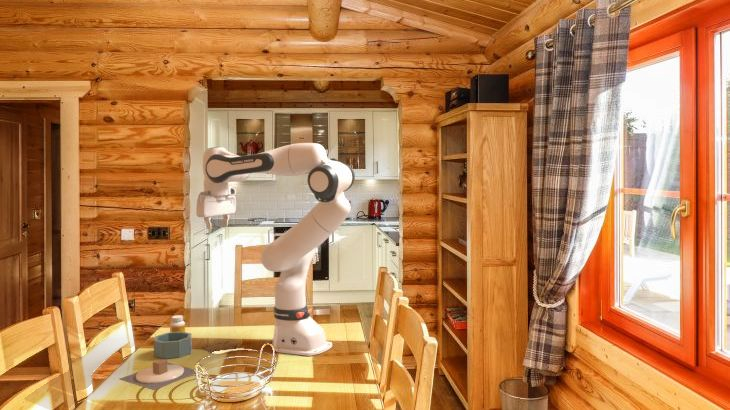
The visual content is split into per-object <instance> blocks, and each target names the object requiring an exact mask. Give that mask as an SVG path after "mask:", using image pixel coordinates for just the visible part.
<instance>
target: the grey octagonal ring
mask: <svg viewBox="0 0 730 410" xmlns="http://www.w3.org/2000/svg"><path fill="white" fill-rule="evenodd" d="M192 337H193V336H192V333H190V332H186V331H185V332H170V331H169V332H165V333H162V334H159V335H155V337H154V339H153V356H154V358H155V357H156V358H159V359H162V360H166V359H168V360H169V359H176V358H181V357H185V356H187V355H190V354H191V352H192V350H193V344H192V343H193V340H192Z"/></svg>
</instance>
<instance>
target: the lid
mask: <svg viewBox="0 0 730 410" xmlns="http://www.w3.org/2000/svg"><path fill="white" fill-rule="evenodd" d="M167 362H168V360H166V359H163V358H159V359H157V360H155V361H153V362H152V366H150V367H146V368H144V369H141V370H140V372H139V371H137V372H138V373H137V374H136V380H137V381H138V382H141V383H146V384H155V383H163V382H168V381H171V380H174V379H177V378H179V377H180V376H182V375H183V374H184V368H183V367H184V366H183V367H182V365H180V364H176V365H173V364H174V363H172V364H167Z"/></svg>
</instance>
